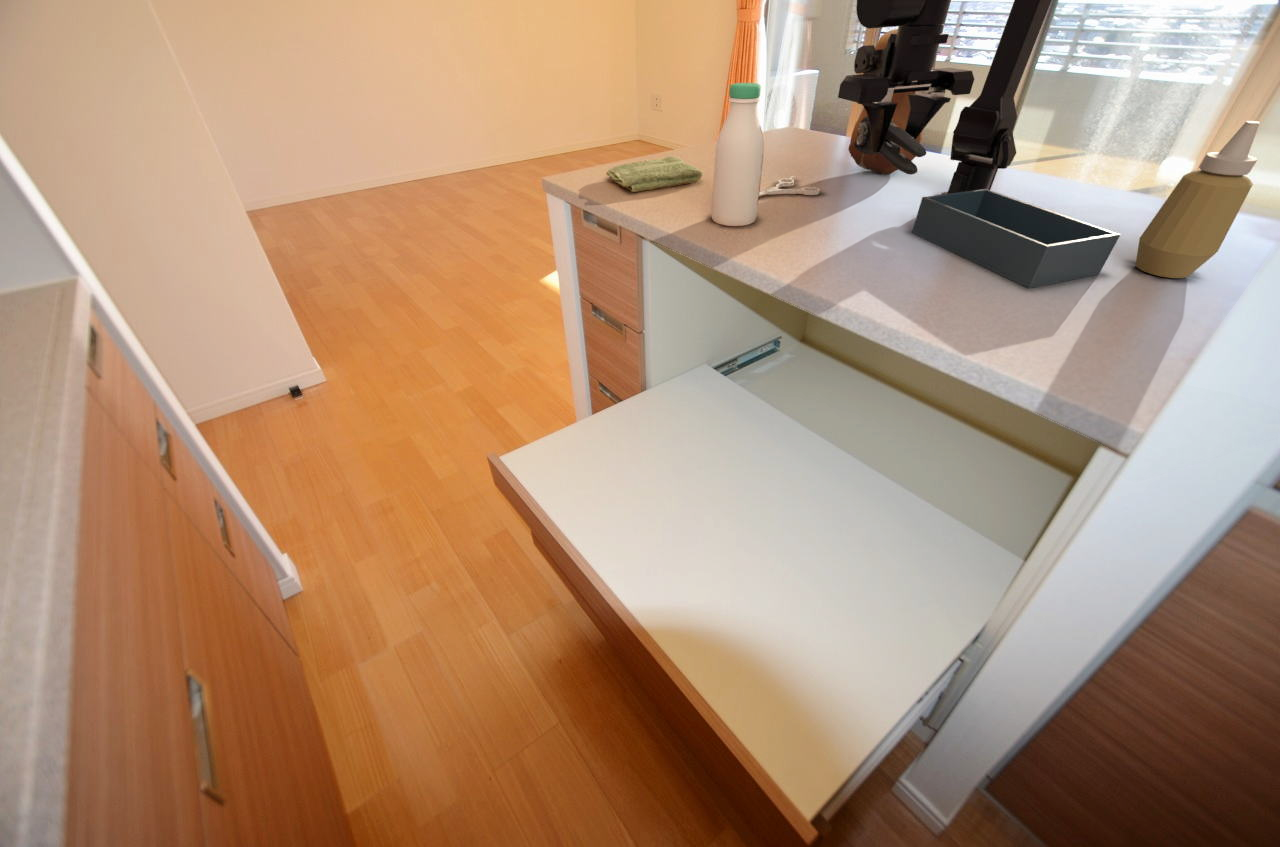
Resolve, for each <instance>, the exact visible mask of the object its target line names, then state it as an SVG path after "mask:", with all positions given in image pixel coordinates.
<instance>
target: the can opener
mask: <svg viewBox="0 0 1280 847" xmlns="http://www.w3.org/2000/svg"><path fill="white" fill-rule="evenodd" d="M892 122H893V119H892V120H891V123H890V126H889V129H888V131H887V134H886V137H885V140H884V142H883V145H882V147H881V149H880V151H879V153H878V154H881V155H882V156H883V157H884V158H885V159H886V160H887V161H888V162H889V163H890V164H891V165H893V166H894V167H895V168H896V169H898V170H897V171H900V172H901V173H904V174H907V175H914V174H917V173H918V167H917V165H916V164H915V163H914V162H913V160H912V161H911V160H909V159H908V158H907V157H906V156H904V155H903V154H902V153H901V152H900V149H901V147H902V148H903V149H905V150H906V151H908V152H909V153H911V154H912V155H914V156H916V157H915V158H922V157H925V156H926V155H927V150H926V148H925V147H924V146H923V145H922V143H921V144H920V143H919V142H918V141H917V140H916V139H914V138H913V137H912V136H911V135H909V134H908V133H907V132H906V131H904V130H903V129H902V128H900V127H899V126H897V125H895V124H892ZM854 148H855V149H856V150H858V151H859V152H861V153H864V154H875V153H874V152H873V151H872V143H871V134H870V126H869V120H868V116H866V117H865V118H863V119H862V121H861V122H860V123H859V126H858V135H857V141H856V142H855V144H854Z"/></svg>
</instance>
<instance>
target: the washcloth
mask: <svg viewBox="0 0 1280 847" xmlns="http://www.w3.org/2000/svg"><path fill="white" fill-rule="evenodd" d="M606 176H609V179H610V180H613V182H614V183H616V184H618V185H620V186H622V187H623V188H626V189H627V190H629V191H630V192H631V193H638V192H643V191H652V190H654V189H657V190H658V189H664V188H669V187H675V186H681V185H687V184H689V185H690V184H692V183H697V182H698V181H700V180H701V179H702V177H703V172H702V170H701V169H698V168H697V167H695V166H693V165H692V164H689V163H687V162H685V160H684V159H682V158H680V157H678V156H676V155H670V156H666V157H663V158H656V159H654V158H652V159H648V160H643V161H642V160H641V161H634V162H627V163H624V164H619V165H615V166H613V167H611V168H610V169H608V170H607V171H606Z"/></svg>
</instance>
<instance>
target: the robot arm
mask: <svg viewBox="0 0 1280 847" xmlns="http://www.w3.org/2000/svg"><path fill="white" fill-rule="evenodd" d="M951 2H952V0H856V8H855V9H856V16H857V20H858V22H859V24H860V25H861V26H862V27H863V28H866V29H881V28H893V27H897V29H898V31H897V33H892V34H891V35H890V37H889V39H888V42H887V46H886V48H884V49H880V50H875V47H876V46H875V45H873V44H867V45H862V46H860V47H858V48H857V50H856V54H855V58H854V61H853V63H854V64H853V65H854V66H853V72H854V74H847V75H846V76H845V77H844V78H843V79H842V81H841V83H840V84H839V90H838V94H837V98H838V99H841V100H846V101H849V102H854V103H857V105H862V108H865V110H866V112H867V115H868V120H869V126H870V134H871V143H872V151H873V152H874V153H879V151H880V149H881V147H882V145H883V142H884V140H885V137H886V134H887V131H888V129H889V126H890V123H891V120H892V118H893V115H894V112H895V110H896V107H897V104H898V103H894V102H891V100H892V96H893V93H904V92H915V94H908V98H909V103H910V112H909V117H908V121H907V125H906V129H905V131H906V132H907V133H908V134H909V135H911V136H912V137H913V138H914V139H917V137H918V136H919V135H920V133H921V132H922V131H923V132H924V130H925V128H926V127H927V126H928V124H929V123H930V122H931V120H933V118H934V117H935V116H936V115H937V113H938V112H939V111H940V110H941V109H942V108H943V106H944V105H945V104H947V103H950V102H951V100H952V98H951V97H947V96H945V95H946V92H947V91H950V93H951V95H952V96H961V95H971V92H972V88H973V85H974V82H975V76H974V73H973V70H971V69H970V70H968V69H962V68H956V67H940V68H935V69H933V66H934V62H935V59H936V60H937V57H936V55H937V56H938V51H939V47H940V45H942V44H948V38H949V35H950V34H949V33H943V32H944V28H945V24H946V21H947V17H948V13H949V9H950V6H951ZM1051 4H1052V0H1013V3H1012V6H1011V9H1010V12H1009V14H1008V17H1007V20H1006V22H1005V26H1004V28H1003V31H1002V34H1001V37H1000V40H999V43H998V45H997V48H996V51H995V53H994V56H993V59H992V61H991V64H990V68H989V70H988V72H987V76H986V79H985V81H984V84H983V87H982V89H981V92H980V94H979V96H978V97H977V98H976V99H975V100H974V101H973V102H971V104H970V105H969V106H964V107H963V108H962V109H961V111H960V113H959V117H958V121H957V124H956V126H955V127H954V130H953V132H952V139H951V149H950V151H951V152H950V158H949V160H951V161H957V162H958V163H957V166H956V169H955V171H954V172H953V175H952V178H951V181H950V183H949V186H948V190H947V191H944V192H941V194H940V195H943V194H950V193H958V192H965V191H973V190H980V189H988V190H991V189H992V187H993V183H994V181H995V178H996V175H997V173H998V170H999V169H1003V170H1005V169H1007V168H1008V167H1010V165H1011V164H1012V162H1013V161H1014V159H1015V156H1016V155H1017V148H1016V143H1015V139H1014V138H1015V137H1014V133H1013V132H1014V128H1015V126H1016V122H1017V119H1018V114H1017V108H1016V103H1015V96H1016V93H1017V91H1018V88H1019V85H1020V83H1021V80H1022V78H1023V75H1024V73H1025V70H1026V67H1027V65H1028V62H1029V60H1030V57H1031V55H1032V52H1033V50H1034V47H1035V44H1036V42H1037V40H1038V36H1039V35H1040V32H1041V29H1042V26H1043V24H1044V21H1045V18H1046V16H1047V13H1048V11H1049V9H1050V6H1051ZM902 149H903V148H902Z"/></svg>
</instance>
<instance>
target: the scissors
mask: <svg viewBox="0 0 1280 847" xmlns="http://www.w3.org/2000/svg"><path fill="white" fill-rule="evenodd" d="M794 184H795V176H794V175H790V177H788V178H787V177H786V178H779V179H778V180H777V183H776V184H775V186H772V187H768V188H767V189H765V190H762V191H759V197H761V196H764V195H766V196H768V195H781V194H788V195H795V194H799V195H805V196H815V195H819V194H820V192H821V188H819V187H815V186H803V187H801V188H797V189H789V188H787V189H785V188H783V187H793V186H794Z"/></svg>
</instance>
